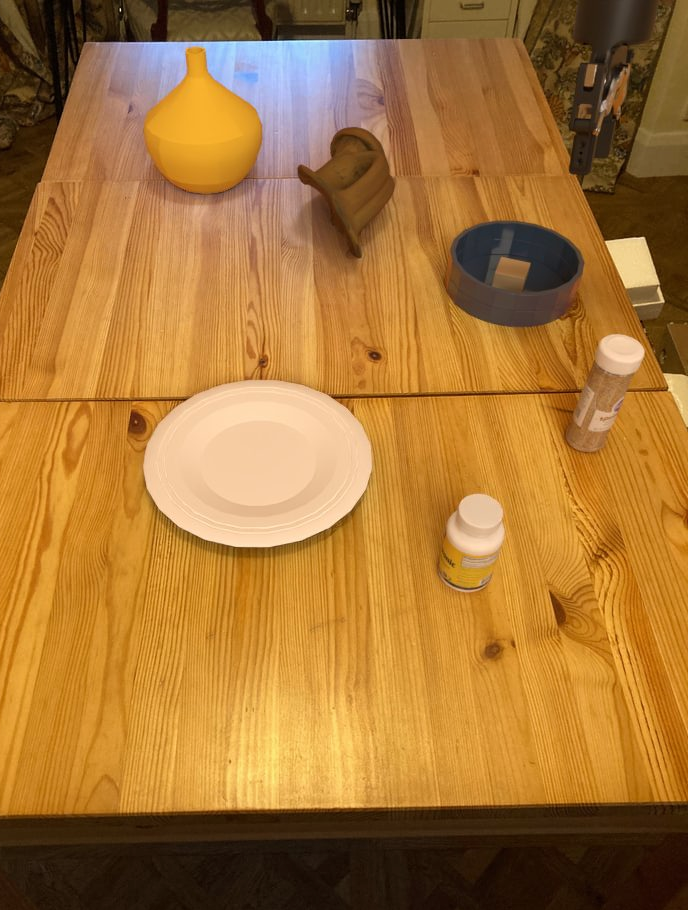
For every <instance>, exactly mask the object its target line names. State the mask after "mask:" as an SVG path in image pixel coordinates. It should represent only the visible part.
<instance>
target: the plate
mask: <svg viewBox="0 0 688 910" xmlns="http://www.w3.org/2000/svg"><path fill="white" fill-rule="evenodd" d="M145 447H146V448H145V452H144V458H143V463H142V468H143V474H144V480H145V486H146V490H147V493H148V494H149V496H150V497H151V499H152V500H153V502H154V504H155V505H156V507H157V509H158V510H159V512H161V513H162V514H163V515H164V516H165V517H166V518H167V519H168V520H170V521H171V522H172V523H173V524H174V525H175V526H176V527H177V528H179V529H181V530H182V531H185V532H187V533H189V534H190V535H193V536H195V537H197V538H198V539H200V540H203V541H205V542H209V543H214V544H217V545H222V546H226V547H231V548H236V549H272V548H276V547H282V546H285V545H291V544H296V543H301V542H303V541H305V540H308V539H309V538H312V537H315V536H316V535H319V534H321V533H323V532H325V531H328V530H329V529H331V528H332V527H334V526H335V525H336V524H338V522H340V521H341V520H342V519H343V518H344V517H346V516H347V515H348V514H349V513H351V512H352V511H353V509H354V508H355V506H356V505H357V504H358V502H359V501H360V500H361V498H362V496H364V493H365V492H366V491H367V487H368V484H369V481H370V477H371V475H372V470H373V457H372V445H371V443H370V440H369V438H368V435H367V434H366V431H365V429H364V426H363V424H362V423H361V422H360V421H359V420H358V419H357V418H356V416H354V415H353V413H352V412H351V411H350V409H348V408H347V407H346V406H344V405H343V404H342V403H340V402H339V401H337V400H336V399H334V398H333V397H331V395H329V394H326V393H324V392H322V391H319V390H317V389H314V388H312V387H310V386H307V385H304V384H301V383H294V382H290V381H284V380H279V379H246V380H240V381H234V382H229V383H222V384H219V385H217V386H214V387H211V388H208V389H206V390H203V391H200V392H197V393H196V394H194V395H193V396H191V397H189V398H187V399H186V400H185V401H183V402H181V403H180V404H178V405H176V406H175V407H174V408H172V410H171V411H170V412H168V414H167V415H166V416H164V418H163V419H161V421H160V422H159V423H158V424H157V425H156V427H155V429H154V430H153V433H152V435H151V436H150V438H149V439H148V442H147V443H146V446H145Z"/></svg>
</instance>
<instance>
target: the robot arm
mask: <svg viewBox="0 0 688 910" xmlns="http://www.w3.org/2000/svg"><path fill="white" fill-rule="evenodd" d="M660 1H661V0H577V6H576V12H575V19H574V24H573V25H574V26H573V31H572V32H573V34H572V40H573V42H574V43H575V44H578V45H581V46H590V47H591V52H590V55H589V59H588V62H582V61H581V62H580V63H579V66H578V67H577V76H576V82H575V88H574V92H573V93H574V95H573V99H572V106H571V111H570V117H569V122H568V125H567V126H568V127H567V128H568V132H571V134H572V135H573V141H572V147H571V154H570V159H569V166H568V173H569V174H570V175H572V176H573V175H574V176H588V175H589V174H590V173H592V170H593V165H594V161H595V159H603V160H604V159H607V158H609V156H610V155H611V152H612V145H613V140H614V134H615V131H616V125H617V121H618V120H619V118H620V117H621V115H622V112H623V111H624V108H626V103H627V102H626V99H627V95H628V89H629V84H630V83H629V82H630V78H631V72H632V67H633V60H634V59H635V55H636V52H635V48H629V47H630V46H639V45H645V44H647V43H649V42H650V41H651V40H652V38H653V36H654V35H653V34H654V30H655V25H656V22H657V21H656V20H657V17H658V16H657V15H658V10H659V5H660ZM586 115H590V118H587V117H586V118H585V116H586Z"/></svg>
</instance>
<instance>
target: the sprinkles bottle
mask: <svg viewBox="0 0 688 910" xmlns="http://www.w3.org/2000/svg"><path fill="white" fill-rule="evenodd" d="M645 354H646V353H645V348H644V345H643V344H641V342H639V341H638V340H637V339H636V338H634V337H632V336H629V335H627V334H621V333H613V334H612V333H611V334H608V335H605V336H604V337H602V338H601V339H600V340H599V342H598V345H597V347H596V349H595V352H594V355H593V358H594V359H593V362H592V365H591V367H590V369H589V373H588V375H587V377H586V379H585V382H584V385H583V387H582V389H581V392H580V395H579V398H578V400H577V403H576V405H575V408H574V410H573V414H572V418H571V421H570V424H569V426H568V427H567V429H566V431H565V434H564V435H565V440H566V442H567V443H568V445H569V446H571V447H572V448H573V449H574V450H577V451H580V452H583V453H595V452H597V451H600V450H602V449H603V448H604V447H605V445H606V442H607V438H608V435H609V432H610V430H611V429H612V427H613V425H614V423H615V421H616V418H617V417H618V414H619V411H620V409H621V407H622V404H623V403H624V399H625V398H626V394H627V391H628V390H629V387H630V386H631V385H630V384H631V382H632V380H633V378H634V375H635V373H636V372H637V371H638V370H639V369H640V366H641V364H642V363H643V360H644V357H645Z"/></svg>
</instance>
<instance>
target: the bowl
mask: <svg viewBox="0 0 688 910" xmlns="http://www.w3.org/2000/svg"><path fill="white" fill-rule="evenodd" d="M501 257H505V258H510V259H514V260H519V261H524V262H528V263H531V265H530V268H529V272H528V276H527V280H526V284H525V287H524V290H523V292H516V291H510V290H505V289H500V288H496V287H493V286H492V283H493V279H494V274H495V271H496V269H497V266H498V264H499V261H500V259H501ZM584 268H585V260H584V257H583V254H582V251H581V250H580V249H579V248H578V247H577V246H576V244H575V243H573V241H571V239H569V238H568V237H566V236H564V235H562V234H561V233H560V232H557V231H556V230H554V229H552V228H549V227H546V226H543V225H539V224H538V223H533V222H527V221H521V220H503V219H502V220H491V221H486V222H480V223H477V224H474V225H473V226H470V227H467V228H465V229H463V230H462V231H461V232H460V233H459V234H458V235H457V236H456V237H454V239H453V240H452V243H451V245H450V249H449V253H448V259H447V265H446V271H445V277H444V285H445V289H446V294H447V295H448V297H449V299H450V300H451V301H452V302H453V303H454V304H455V305H456V306H457V307H458V308H459V309H460V310H462V311H463V312H465V314H468V315H469V316H472V317H473V318H476V319H477V320H480V321H483V322H486V323H489V324H492V325H497V326H501V327H508V328H531V327H538V326H543V325H546V324H550V323H553V322H554V321H556V320H558V319H560V318H561V317H563V316H565V315H566V314H567V313H568V311H569V310H570V308H571V307H572V306H573V305H574V302H575V298H576V295H577V293H578V290H579V286H580V283H581V280H582V277H583V274H584V270H585V269H584Z"/></svg>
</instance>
